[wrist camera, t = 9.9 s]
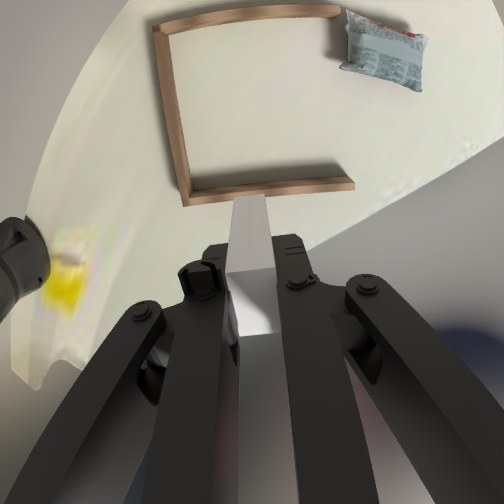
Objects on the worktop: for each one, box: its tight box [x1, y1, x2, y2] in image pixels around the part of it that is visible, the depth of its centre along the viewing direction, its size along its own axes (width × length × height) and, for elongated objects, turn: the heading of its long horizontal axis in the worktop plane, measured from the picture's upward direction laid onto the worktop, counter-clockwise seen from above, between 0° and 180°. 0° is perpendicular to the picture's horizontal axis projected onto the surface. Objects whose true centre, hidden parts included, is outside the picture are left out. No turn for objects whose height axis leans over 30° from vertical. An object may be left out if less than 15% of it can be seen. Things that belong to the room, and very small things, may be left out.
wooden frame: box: [152, 4, 355, 207], centre depth 31 cm, size 22×24×3 cm
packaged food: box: [339, 8, 429, 92], centre depth 26 cm, size 9×12×5 cm
